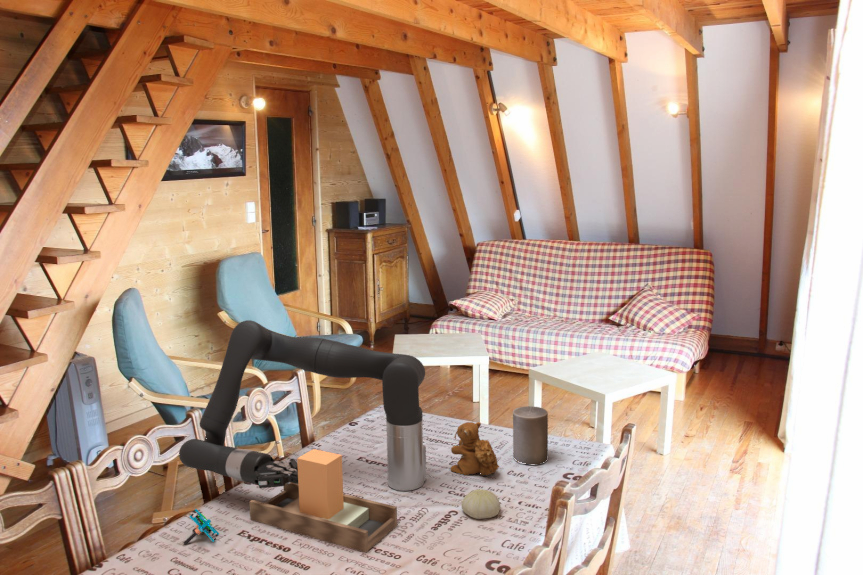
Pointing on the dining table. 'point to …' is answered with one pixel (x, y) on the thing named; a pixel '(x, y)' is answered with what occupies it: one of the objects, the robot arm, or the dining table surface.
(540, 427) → the pillar candle
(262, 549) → the dining table surface
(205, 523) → the stick construction toy
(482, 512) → the sea urchin shell
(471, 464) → the stuffed squirrel
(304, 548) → the dining table surface
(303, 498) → the orange block
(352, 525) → the open wooden box
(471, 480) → the dining table surface
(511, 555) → the dining table surface
